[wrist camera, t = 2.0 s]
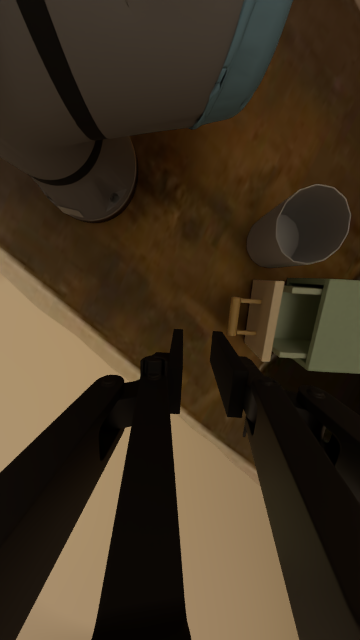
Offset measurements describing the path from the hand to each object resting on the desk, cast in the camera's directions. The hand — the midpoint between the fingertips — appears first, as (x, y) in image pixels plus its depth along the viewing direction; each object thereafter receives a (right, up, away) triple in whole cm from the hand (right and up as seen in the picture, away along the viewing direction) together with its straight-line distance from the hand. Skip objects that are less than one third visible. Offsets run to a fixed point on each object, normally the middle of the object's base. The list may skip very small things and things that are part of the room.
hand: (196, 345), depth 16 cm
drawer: (+15, +3, +17) cm, 23 cm away
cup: (+14, +15, +15) cm, 26 cm away
